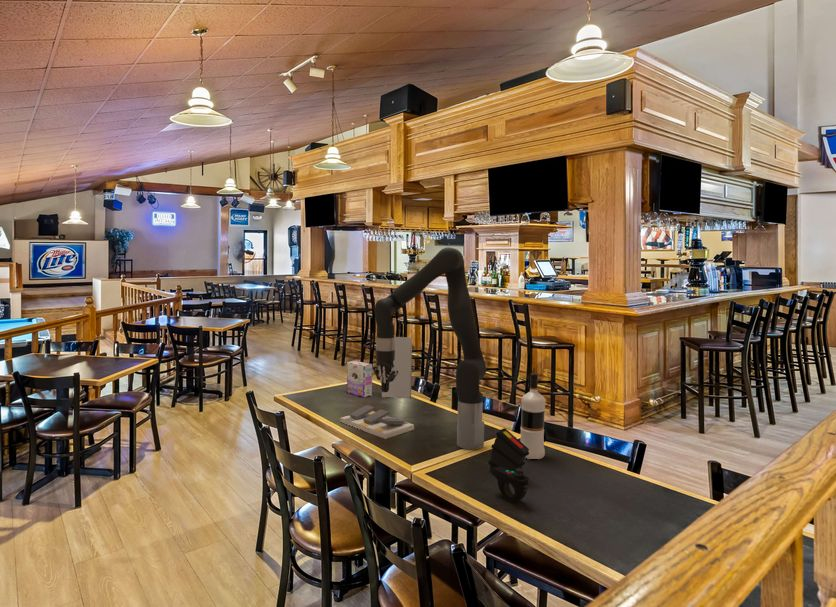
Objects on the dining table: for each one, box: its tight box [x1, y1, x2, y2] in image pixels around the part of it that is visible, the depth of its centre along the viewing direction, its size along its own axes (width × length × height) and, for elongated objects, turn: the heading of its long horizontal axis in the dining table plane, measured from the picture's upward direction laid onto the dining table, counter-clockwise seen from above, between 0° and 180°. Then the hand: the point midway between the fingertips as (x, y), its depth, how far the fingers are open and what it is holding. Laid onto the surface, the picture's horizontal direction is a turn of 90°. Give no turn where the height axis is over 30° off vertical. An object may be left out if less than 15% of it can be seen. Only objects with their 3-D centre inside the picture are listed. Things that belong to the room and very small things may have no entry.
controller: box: [491, 466, 530, 502], centre depth 152 cm, size 4×12×10 cm, turn 39°
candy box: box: [346, 360, 373, 398], centre depth 264 cm, size 14×6×16 cm, turn 46°
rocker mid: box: [363, 408, 390, 424], centre depth 215 cm, size 5×10×1 cm, turn 137°
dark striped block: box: [488, 427, 529, 475], centre depth 168 cm, size 4×13×15 cm, turn 45°
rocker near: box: [379, 417, 406, 424], centre depth 210 cm, size 5×10×1 cm, turn 137°
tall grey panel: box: [381, 336, 413, 399], centre depth 261 cm, size 14×6×30 cm, turn 84°
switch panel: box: [339, 410, 415, 440], centre depth 216 cm, size 28×16×3 cm, turn 47°
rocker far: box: [348, 404, 376, 419], centre depth 222 cm, size 5×10×1 cm, turn 137°
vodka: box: [519, 372, 546, 460], centre depth 185 cm, size 9×9×30 cm
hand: (385, 391), depth 206 cm, fingers closed
